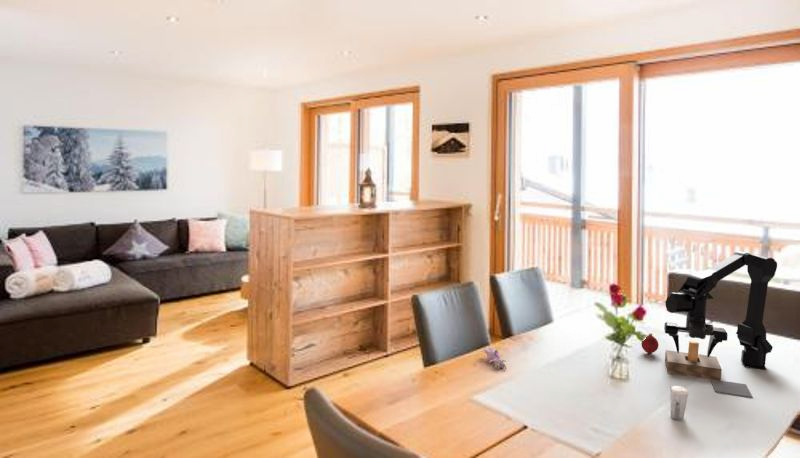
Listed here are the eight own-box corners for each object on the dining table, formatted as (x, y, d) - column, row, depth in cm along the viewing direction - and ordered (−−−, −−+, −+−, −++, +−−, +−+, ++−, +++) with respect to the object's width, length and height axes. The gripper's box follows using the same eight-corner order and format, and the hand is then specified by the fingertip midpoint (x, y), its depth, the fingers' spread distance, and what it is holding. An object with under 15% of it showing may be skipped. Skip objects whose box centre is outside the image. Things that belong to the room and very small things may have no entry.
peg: (695, 369, 187) (698, 341, 185) (696, 372, 184) (699, 344, 182) (686, 367, 188) (688, 340, 186) (687, 371, 185) (689, 343, 184)
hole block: (715, 367, 188) (716, 356, 188) (720, 380, 177) (721, 369, 177) (664, 360, 194) (665, 350, 194) (667, 372, 183) (668, 361, 183)
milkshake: (662, 414, 153) (664, 381, 152) (679, 413, 154) (682, 380, 153) (671, 422, 149) (674, 388, 148) (689, 421, 149) (692, 387, 148)
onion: (659, 357, 197) (661, 336, 196) (642, 356, 199) (644, 335, 198) (655, 351, 203) (656, 331, 202) (639, 350, 204) (640, 330, 203)
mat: (745, 385, 174) (745, 384, 174) (752, 398, 164) (752, 396, 164) (710, 380, 177) (710, 379, 177) (715, 392, 168) (715, 391, 168)
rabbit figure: (510, 373, 185) (494, 351, 199) (512, 358, 183) (495, 337, 197) (493, 375, 184) (478, 352, 198) (494, 359, 182) (479, 338, 196)
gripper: (667, 314, 179) (664, 358, 181) (732, 321, 172) (727, 367, 174) (665, 305, 189) (662, 347, 191) (726, 312, 182) (722, 355, 184)
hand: (692, 354), depth 185 cm, fingers open, 9 cm apart
